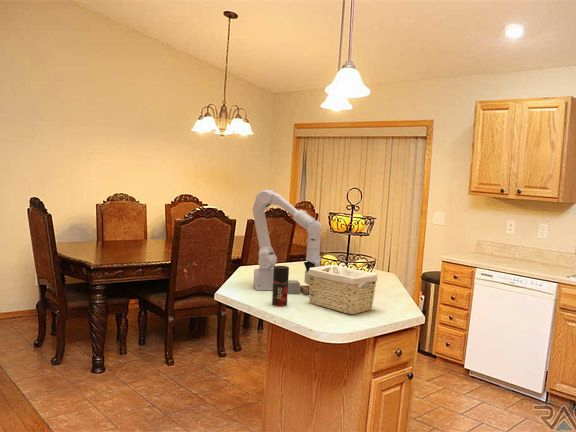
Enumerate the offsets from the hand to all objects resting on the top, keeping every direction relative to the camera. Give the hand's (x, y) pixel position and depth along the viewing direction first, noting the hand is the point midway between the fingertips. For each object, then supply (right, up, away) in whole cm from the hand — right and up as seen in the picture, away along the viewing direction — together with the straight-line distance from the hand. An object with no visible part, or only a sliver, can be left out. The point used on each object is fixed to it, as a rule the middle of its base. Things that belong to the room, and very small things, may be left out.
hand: (311, 279), depth 214 cm
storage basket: (+10, -9, -19) cm, 23 cm away
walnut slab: (0, -7, +1) cm, 6 cm away
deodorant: (-14, -7, -21) cm, 26 cm away
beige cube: (0, -2, 0) cm, 2 cm away
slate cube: (-8, -6, 0) cm, 10 cm away
